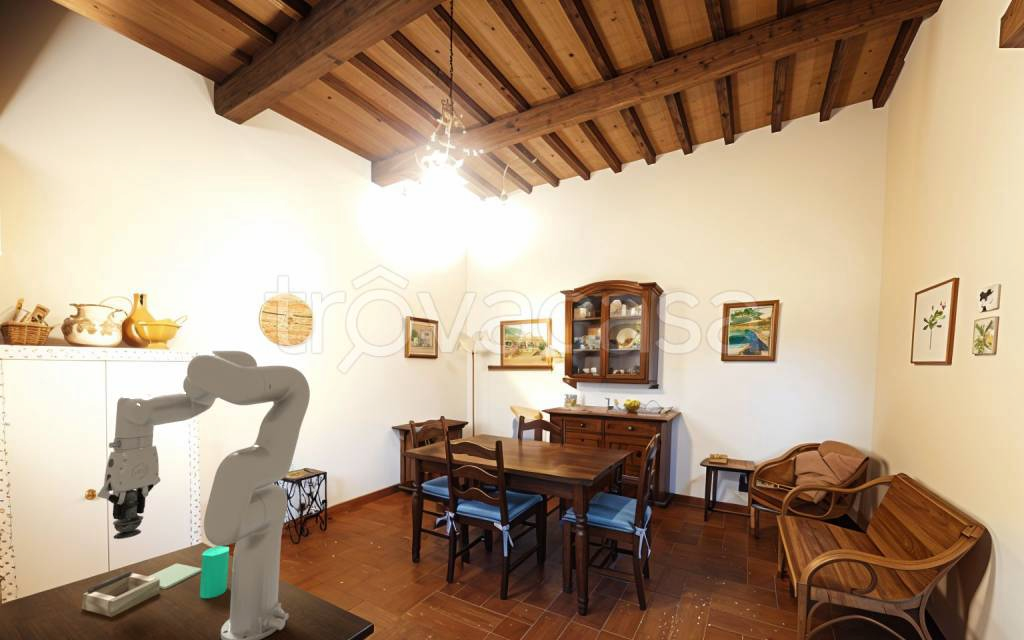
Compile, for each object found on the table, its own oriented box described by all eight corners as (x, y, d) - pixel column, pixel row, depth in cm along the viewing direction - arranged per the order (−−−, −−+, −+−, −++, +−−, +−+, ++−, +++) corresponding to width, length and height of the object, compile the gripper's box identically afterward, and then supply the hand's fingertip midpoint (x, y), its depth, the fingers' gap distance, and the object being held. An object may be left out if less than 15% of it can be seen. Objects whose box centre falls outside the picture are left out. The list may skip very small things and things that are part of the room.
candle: (213, 599, 109) (216, 551, 110) (193, 596, 110) (196, 548, 111) (232, 587, 115) (235, 541, 116) (213, 584, 116) (216, 538, 117)
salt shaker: (119, 531, 111) (123, 483, 112) (147, 528, 113) (150, 481, 114) (106, 540, 106) (109, 490, 107) (135, 537, 108) (138, 488, 108)
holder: (158, 593, 112) (160, 575, 112) (111, 616, 102) (113, 597, 102) (130, 586, 115) (131, 568, 115) (81, 608, 105) (83, 589, 105)
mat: (202, 570, 123) (202, 568, 123) (165, 589, 114) (165, 587, 114) (176, 565, 126) (176, 563, 126) (138, 583, 116) (138, 580, 116)
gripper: (106, 451, 102) (100, 530, 101) (177, 437, 118) (173, 506, 117) (84, 449, 104) (78, 526, 103) (157, 436, 120) (153, 503, 119)
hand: (128, 515), depth 110 cm, fingers closed on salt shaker, 3 cm apart
